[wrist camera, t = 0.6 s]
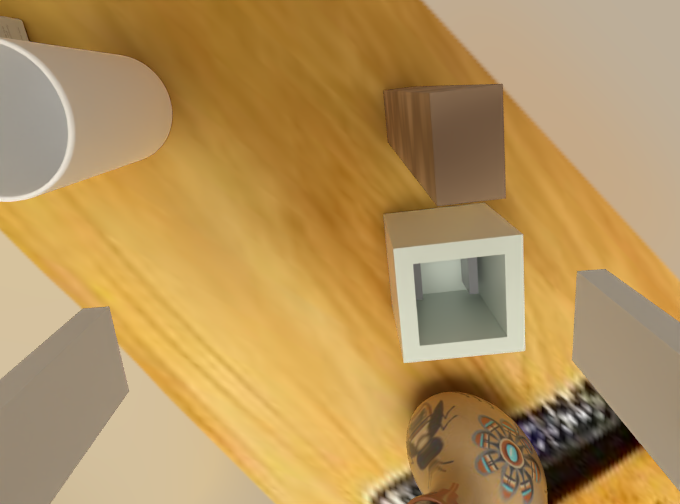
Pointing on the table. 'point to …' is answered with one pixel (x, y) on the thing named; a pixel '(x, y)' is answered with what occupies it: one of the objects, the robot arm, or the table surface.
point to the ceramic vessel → (471, 454)
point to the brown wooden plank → (450, 139)
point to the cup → (73, 115)
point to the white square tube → (455, 282)
